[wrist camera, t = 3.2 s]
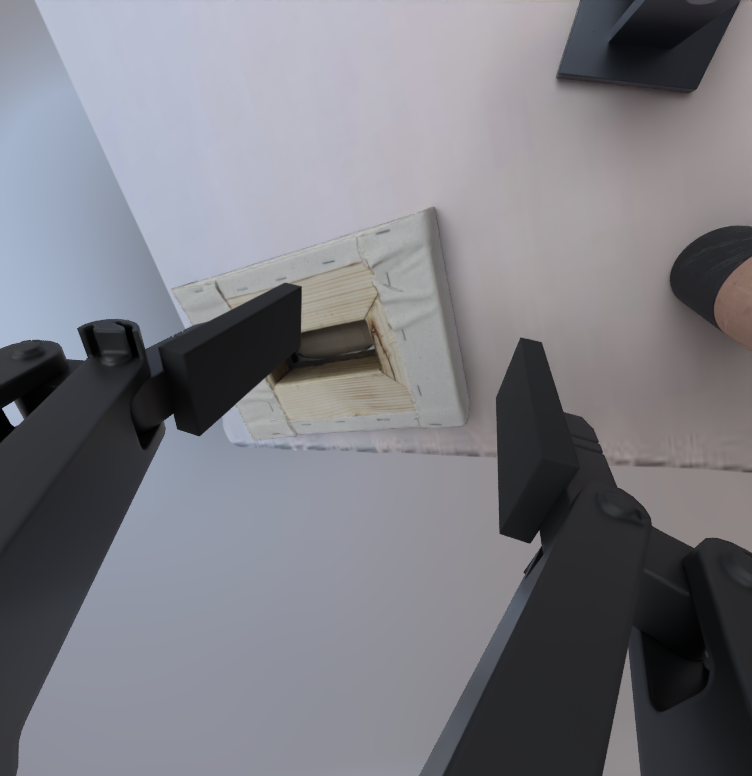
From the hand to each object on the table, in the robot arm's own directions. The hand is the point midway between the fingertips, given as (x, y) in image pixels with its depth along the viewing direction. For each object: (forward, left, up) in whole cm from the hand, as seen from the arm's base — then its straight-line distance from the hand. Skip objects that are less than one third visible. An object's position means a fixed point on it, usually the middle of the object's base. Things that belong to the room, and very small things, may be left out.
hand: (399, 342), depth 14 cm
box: (+12, +14, -28) cm, 33 cm away
